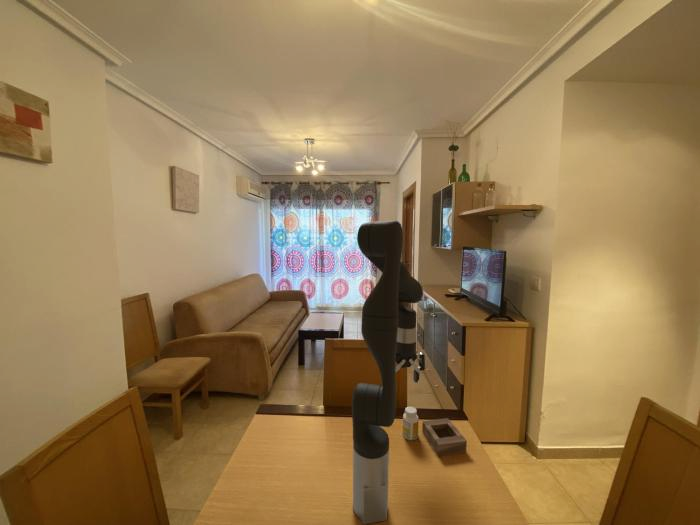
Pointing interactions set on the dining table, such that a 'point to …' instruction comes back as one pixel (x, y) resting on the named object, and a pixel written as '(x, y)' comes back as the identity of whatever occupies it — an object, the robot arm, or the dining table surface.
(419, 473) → the dining table surface
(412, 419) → the supplement bottle
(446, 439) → the block
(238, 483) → the dining table surface
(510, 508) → the dining table surface
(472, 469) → the dining table surface
